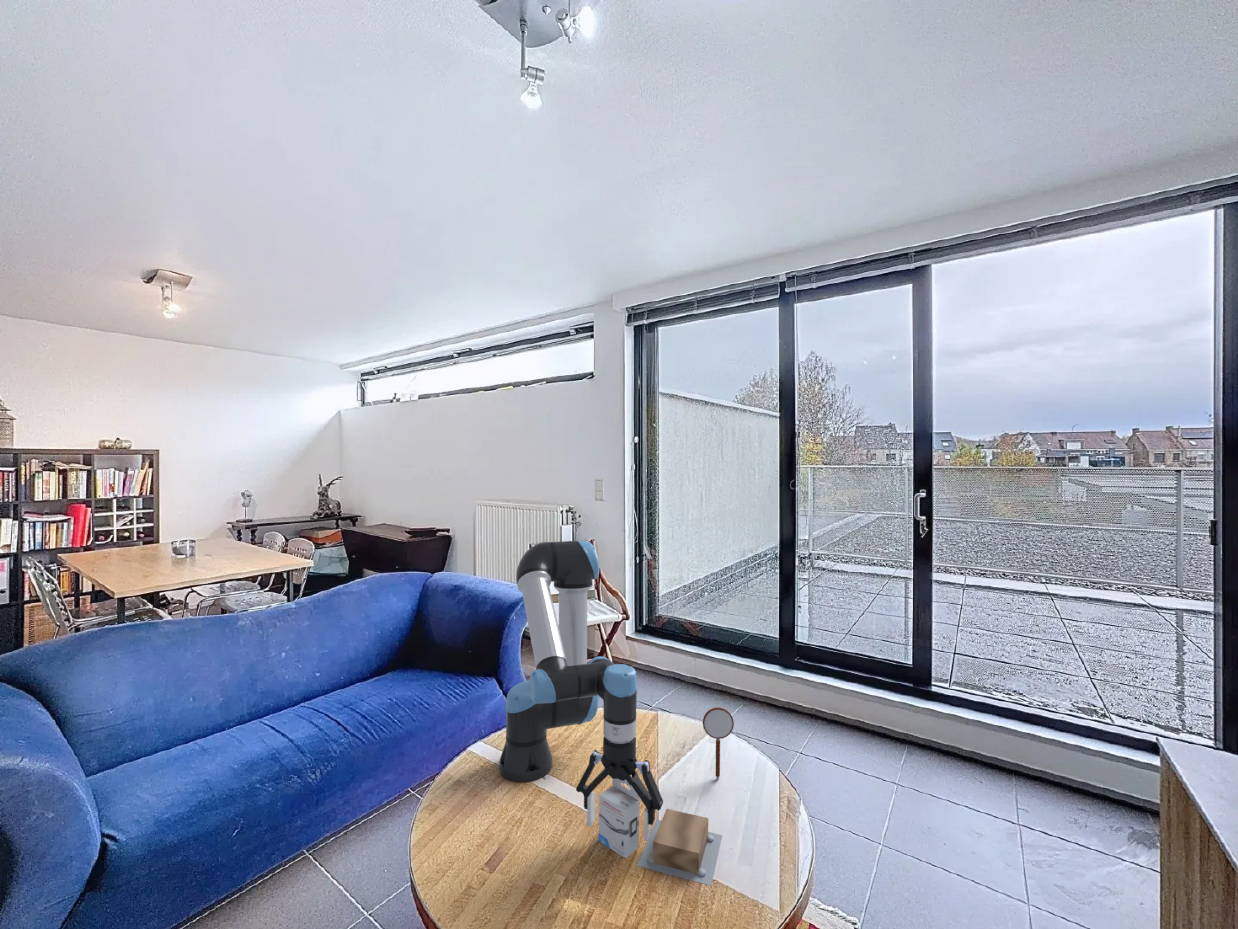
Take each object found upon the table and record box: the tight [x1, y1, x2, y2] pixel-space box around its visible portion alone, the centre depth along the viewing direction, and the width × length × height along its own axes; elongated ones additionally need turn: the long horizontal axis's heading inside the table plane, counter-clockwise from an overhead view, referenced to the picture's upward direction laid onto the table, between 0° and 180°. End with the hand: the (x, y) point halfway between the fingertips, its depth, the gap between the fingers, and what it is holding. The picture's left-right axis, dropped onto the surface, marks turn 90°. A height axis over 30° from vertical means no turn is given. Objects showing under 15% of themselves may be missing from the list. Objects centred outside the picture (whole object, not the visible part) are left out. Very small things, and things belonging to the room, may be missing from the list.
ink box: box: [598, 778, 640, 859], centre depth 120 cm, size 9×5×15 cm, turn 49°
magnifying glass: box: [702, 707, 735, 780], centre depth 148 cm, size 9×2×20 cm, turn 87°
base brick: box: [653, 808, 709, 874], centre depth 119 cm, size 10×12×4 cm
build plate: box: [636, 819, 723, 886], centre depth 119 cm, size 16×16×2 cm
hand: (618, 830), depth 120 cm, fingers open, 13 cm apart
